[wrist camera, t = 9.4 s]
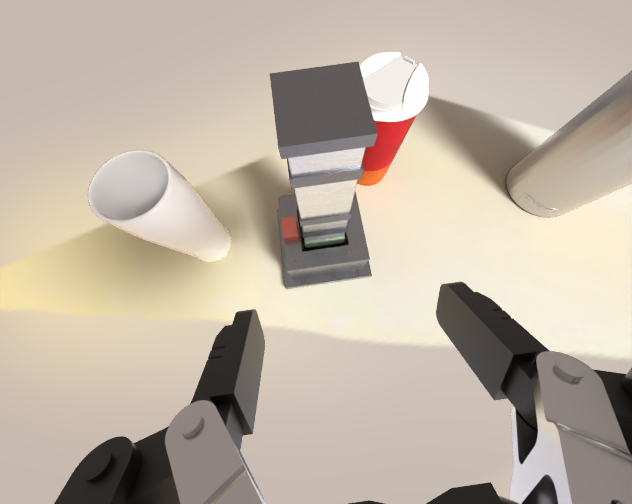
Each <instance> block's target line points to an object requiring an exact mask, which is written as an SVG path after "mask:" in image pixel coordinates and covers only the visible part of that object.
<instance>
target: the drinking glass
mask: <svg viewBox="0 0 632 504" xmlns="http://www.w3.org/2000/svg"><path fill="white" fill-rule="evenodd" d="M88 201H89V204H90V207H91V209H92V211H93V212H94V213H95V214H96V215H97V216H98V217H99V218H100V219H102V220H104V221H106V222H108V223H109V224H111V225H113V226H115V227H117V228H119V229H121V230H123V231H125V232H127V233H129V234H131V235H134V236H136V237H138V238H141V239H143V240H146V241H148V242H151V243H154V244H157V245H160V246H163V247H166V248H169V249H172V250H175V251H178V252H181V253H184V254H187V255H190V256H193V257H196V258H198V259H200V260H202V261H206V262H214V261H217V260H220V259H222V258H223V257H224V256H225V255H226V254H227V253H228V252H229V250H230V248H231V243H232V239H231V235H230V233H229V232H228V230H227V229H226V228H225V227H224V226H223V225H222V224H221V223H220V221H219V220H218V219H217V218H216V216H215V215H214V214H213V212H212V211H211V210H210V209H209V207H208V206H207V205H206V203H205V202H204V201H203V199H202V198H201V197H200V195H199V194H198V193H197V192H196V190H195V189H194V188H193V187H192V186H191V185H190V183H189V182H188V181H187V180H186V179H185V178H184V177H183V176H182V175H181V174H180V173H179V172H178V171H177V170H176V169H175V168H174V167H173V166H171V165H170V164H169V163H168V162H167V161H166V160H165V159H164V158H163V157H161V156H160V155H158V154H156V153H154V152H151V151H146V150H133V151H128V152H124V153H121V154H119V155H117V156H115V157H113V158H111V159H110V160H108V161H107V162H105V163H104V164H103V165H102V166H101V167H100V168H99V169H98V170H97V172H96V173H95V175H94V176H93V178H92V180H91V182H90V185H89V189H88Z"/></svg>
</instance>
